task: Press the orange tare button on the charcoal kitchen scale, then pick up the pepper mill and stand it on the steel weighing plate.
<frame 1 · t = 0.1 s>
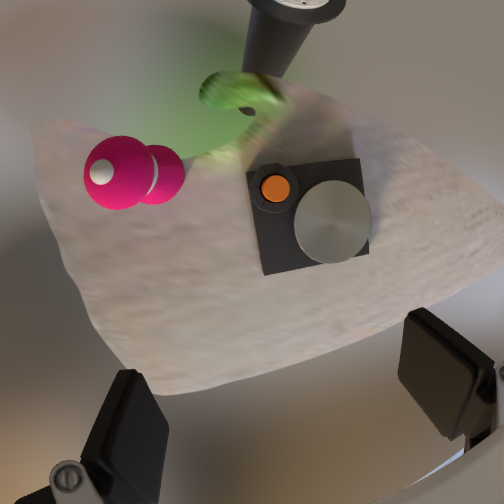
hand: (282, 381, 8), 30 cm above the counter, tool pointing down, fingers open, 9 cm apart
scale: (311, 214, 38), on the counter
tare button: (275, 188, 33), point 4 cm above the counter, slide at 0.1 cm
pepper mill: (162, 175, 35), on the counter
weighing plate: (325, 218, 38), resting on scale
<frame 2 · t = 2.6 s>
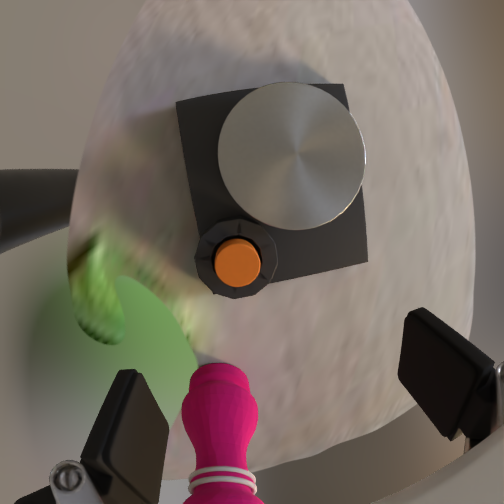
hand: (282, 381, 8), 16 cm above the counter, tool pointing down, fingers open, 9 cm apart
scale: (277, 182, 23), on the counter
tare button: (237, 262, 20), point 4 cm above the counter, slide at 0.1 cm
pepper mill: (219, 383, 27), on the counter
weighing plate: (285, 157, 22), resting on scale
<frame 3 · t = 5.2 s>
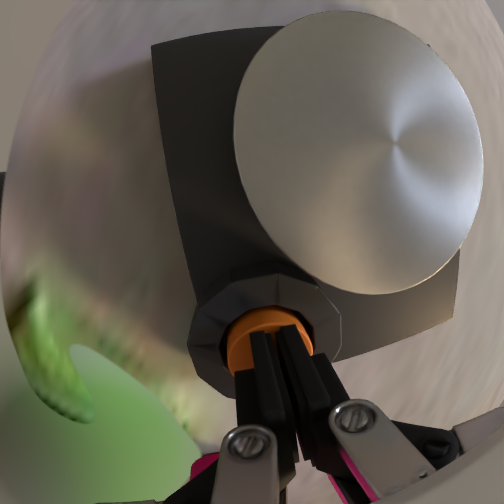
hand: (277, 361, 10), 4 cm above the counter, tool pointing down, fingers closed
scale: (337, 195, 12), on the counter
tare button: (268, 347, 10), point 3 cm above the counter, slide at -0.5 cm, touching gripper
pepper mill: (230, 468, 17), on the counter
weighing plate: (350, 151, 12), resting on scale
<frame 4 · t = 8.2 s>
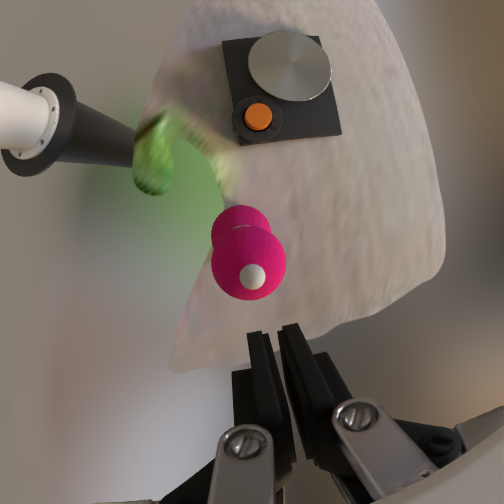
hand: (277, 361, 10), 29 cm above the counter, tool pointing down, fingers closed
scale: (281, 86, 33), on the counter
tare button: (258, 116, 31), point 3 cm above the counter, slide at 0.1 cm
pepper mill: (239, 229, 38), on the counter
weighing plate: (285, 73, 33), resting on scale
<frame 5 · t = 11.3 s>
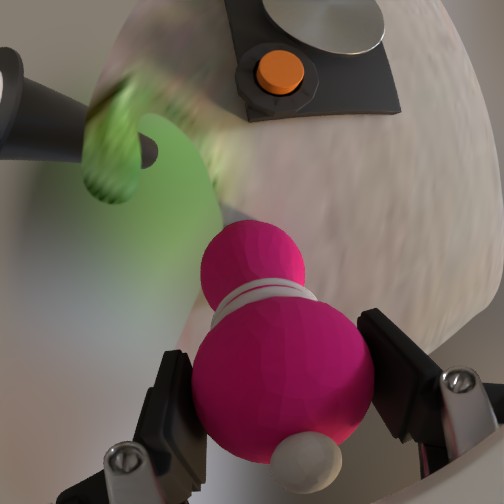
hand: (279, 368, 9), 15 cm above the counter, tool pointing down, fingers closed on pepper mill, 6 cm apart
scale: (309, 38, 19), on the counter
tare button: (279, 72, 17), point 3 cm above the counter, slide at 0.1 cm
pepper mill: (247, 256, 24), on the counter, touching gripper
weighing plate: (315, 22, 19), resting on scale
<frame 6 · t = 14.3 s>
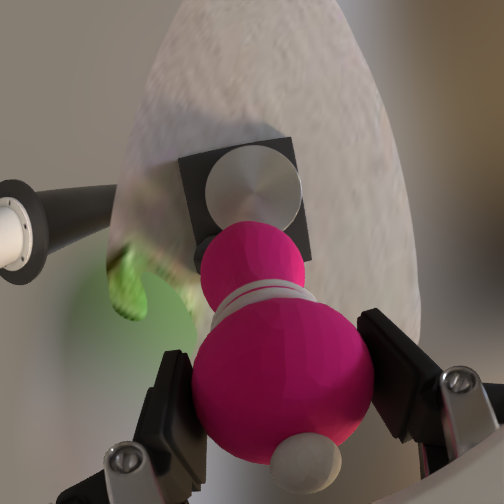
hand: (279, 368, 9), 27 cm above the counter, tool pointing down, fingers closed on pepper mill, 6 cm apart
scale: (246, 208, 35), on the counter
pepper mill: (247, 256, 24), point 12 cm above the counter, touching gripper
weighing plate: (251, 191, 35), resting on scale
when the fingers open (19 cm above the counter, at t = 17.3 s): pepper mill stays where it is, resting on weighing plate.
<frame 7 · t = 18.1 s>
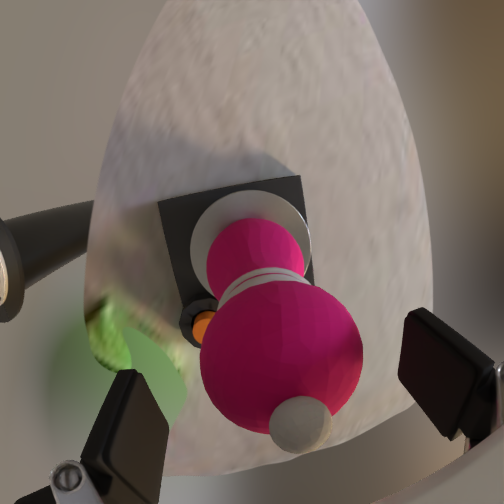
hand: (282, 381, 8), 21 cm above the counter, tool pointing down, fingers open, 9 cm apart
scale: (242, 263, 29), on the counter
tare button: (209, 328, 27), point 3 cm above the counter, slide at 0.1 cm
pepper mill: (250, 252, 25), point 4 cm above the counter, touching weighing plate
weighing plate: (248, 242, 29), resting on scale
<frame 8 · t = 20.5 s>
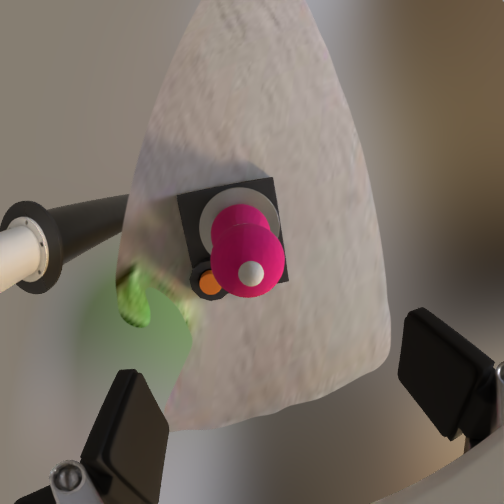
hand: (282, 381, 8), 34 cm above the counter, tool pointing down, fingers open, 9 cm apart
scale: (234, 237, 42), on the counter
tare button: (210, 282, 40), point 3 cm above the counter, slide at 0.1 cm
pepper mill: (239, 227, 38), point 4 cm above the counter, touching weighing plate
weighing plate: (238, 223, 42), resting on scale
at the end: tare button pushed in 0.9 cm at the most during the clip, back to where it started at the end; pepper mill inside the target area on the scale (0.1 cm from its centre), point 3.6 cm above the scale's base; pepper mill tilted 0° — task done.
